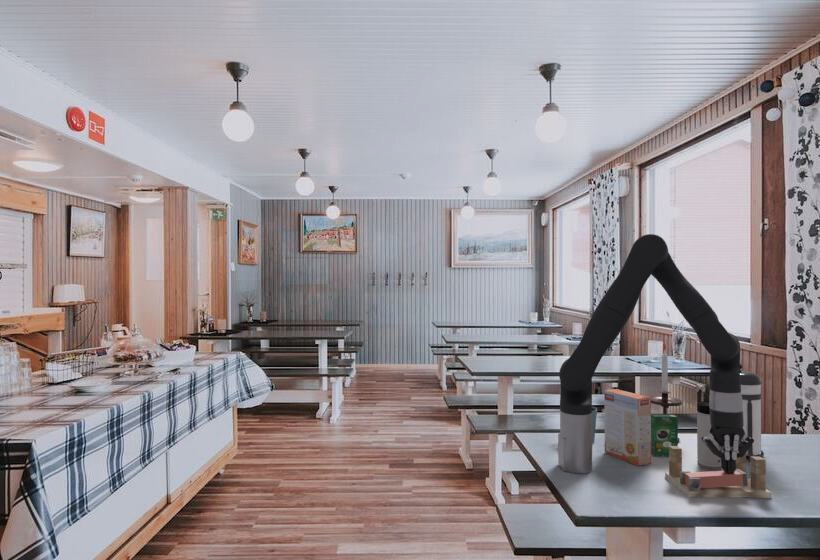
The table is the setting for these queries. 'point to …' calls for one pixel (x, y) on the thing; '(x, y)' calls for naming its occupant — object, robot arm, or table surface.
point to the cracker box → (628, 426)
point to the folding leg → (718, 478)
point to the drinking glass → (593, 422)
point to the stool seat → (693, 490)
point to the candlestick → (665, 389)
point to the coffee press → (751, 410)
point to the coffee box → (663, 434)
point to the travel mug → (703, 429)
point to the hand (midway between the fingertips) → (728, 472)
